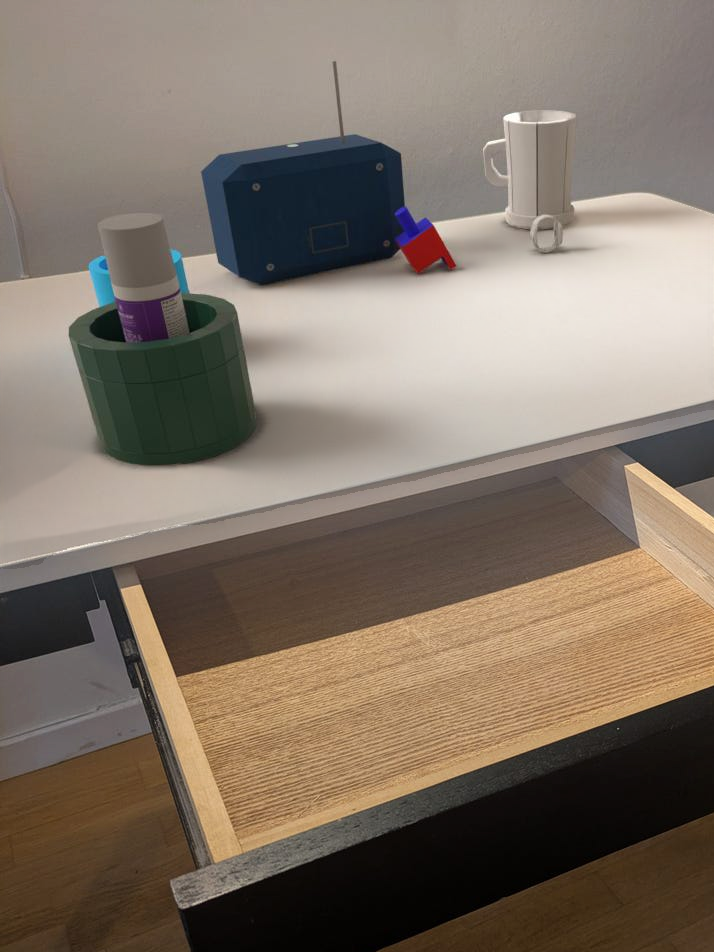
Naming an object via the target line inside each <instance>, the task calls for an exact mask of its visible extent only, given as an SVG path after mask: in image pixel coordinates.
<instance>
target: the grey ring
mask: <svg viewBox="0 0 714 952" xmlns="http://www.w3.org/2000/svg"><path fill="white" fill-rule="evenodd" d="M549 218H550V219H553V220H555V222H554V228H553V243H552V244H551V245H550V246H547V247H544V248H542V247H540V246H539V244H538V242H539V241H538V226H539V224H540V223H542V222H543V221H545V220H548V219H549ZM532 224H533V225H532V227H531V229H530V232H529V237H530V241H531V243H532V246H533V247H534V248H535V249H536V250H537V251H539V252H541V253H545V254H548V253H552V252H554V251H555V250H557V248H559V246H561V245H562V244H563V237H564V236H563V234H564V233H563V232H564V231H563V229H564V226H563V225H562V224H561V223H560V222H559V221H558V220H557V219H556V218H554V217H553V216H551V215H541V216H539V217H537V218H536V219H535V220H534V221H533V223H532Z"/></svg>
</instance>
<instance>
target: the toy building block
mask: <svg viewBox="0 0 714 952" xmlns="http://www.w3.org/2000/svg"><path fill="white" fill-rule="evenodd" d="M395 216H396V218H397V219H398V221H399V223H400V224H401V226H402V228H403V229H404V231H405V232H404V233H402V234H401V235H399V236H398V237H397V238H395V240H396V242H397V244H398V245H399V247H400V251H401V252H402V254H403V255H404V257H405V258H406V261H407V262H408V263H409V265H410V267H411V268H412V269H413V270H414V271H415V273H416V274H417V275H419V274H421V273H422V272H423V271H425V270H426V269H428V268H429V267H430V266H432V265H433V264H435V263H436V262H437V261H439V260H441V262H442V263H443V264H444V265H445V266H446V267H447V268H448V269H449V270H450V271H451V270H453V269H455V268H456V267H457V264H456V261H455V260H454V258H453V257H452V255H451V253H450V251H449V250H448V247H447V246H446V244H445V242H444V241H443V239H442V237H441V235H440V234H439V233H438V230H437V229H436V227H435V225H434V224H433V222H431V221H430V220H429V218H427V216H425V217H423V218H422V219H420V220H419V221H418V222H416V220H415V219H414V217H413V215H412V214H411V212H410V210H409V208H408V207H407V206H405V207H402V208H400V209H399V210H397V211H396V213H395Z"/></svg>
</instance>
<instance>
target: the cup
mask: <svg viewBox="0 0 714 952" xmlns="http://www.w3.org/2000/svg"><path fill="white" fill-rule="evenodd" d="M502 119H503V129H504V138H501V139H495V140H491V141H487V143H486V144H485V146H484V147H483V148H482V154H483V156H482V157H483V164H484V165H483V167H484V176H485V178H486V180H488V181H489V182H490V184H492V185H493V186H498V187H507V193H508V206H506V207H505V208H504V209H505V211H504V213H505V222H506V223H508V225H510V226H511V227H514V228H517V229H522V230H531V227H532V225H533V224H532V223H533V221H534V220H535V219H536V218H537V217H539V216H541V215H551V216H553V217H554V218H556V219H557V220H558V221H559V222H560V223H561V224H562V225H563V227H565V226H567V225H569V224H570V223H572V221H573V220H574V219H575V206H574V205H573V204H572V182H573V164H574V163H573V162H574V151H575V149H574V148H575V140H576V139H575V137H576V128H577V115H576V114H575V113H573V112H570V111H565V110H554V109H552V110H551V109H549V110H548V109H544V110H543V109H539V110H537V109H536V110H526V111H517V112H512V113H508V114H506V115H504V117H503V118H502ZM502 152H506V153H505V154H506V167H507V175H506V174H501V173H500V172H499V170H498V169H497V168H496V167H495V166H494V160H493V157H494V156H495V154H496V153H502ZM554 222H555V220H553V219H550V218H549V219H548V220H545V221H543V222H542V223H540V224H539V226H538V230H539V231H540V230H554ZM538 230H537V231H538Z"/></svg>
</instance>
